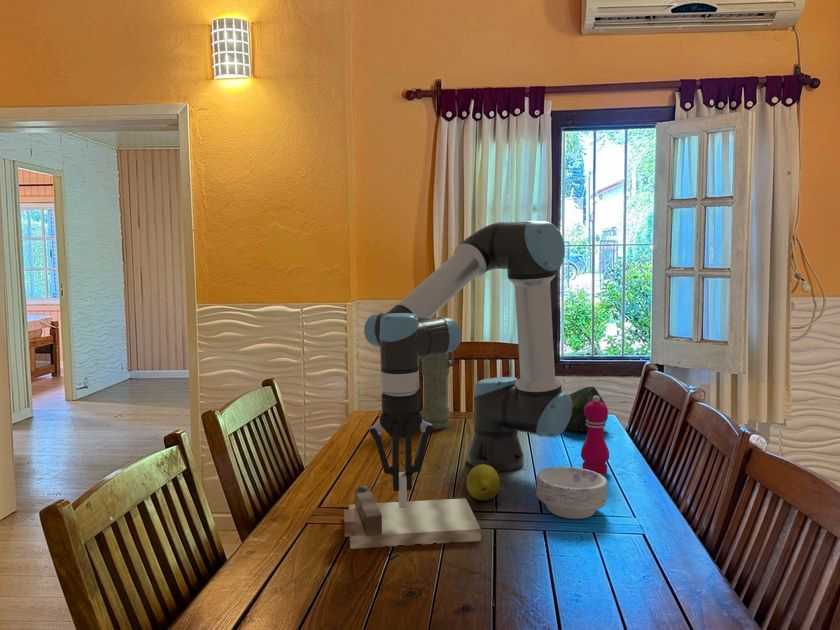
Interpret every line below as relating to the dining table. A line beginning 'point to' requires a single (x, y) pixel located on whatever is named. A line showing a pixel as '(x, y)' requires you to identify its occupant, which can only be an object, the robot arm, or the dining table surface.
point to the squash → (581, 408)
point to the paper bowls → (571, 491)
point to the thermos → (436, 389)
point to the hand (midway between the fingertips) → (402, 505)
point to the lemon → (483, 482)
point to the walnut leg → (368, 511)
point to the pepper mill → (595, 437)
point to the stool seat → (416, 524)
